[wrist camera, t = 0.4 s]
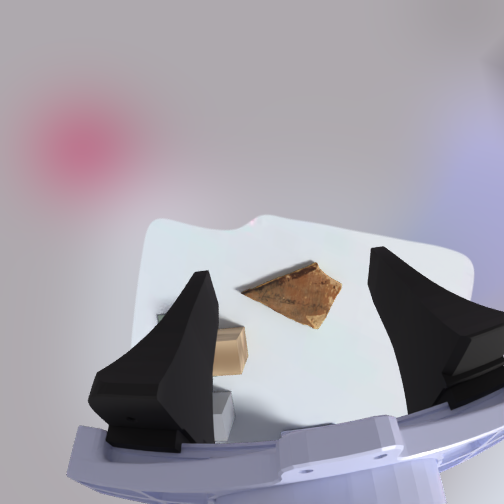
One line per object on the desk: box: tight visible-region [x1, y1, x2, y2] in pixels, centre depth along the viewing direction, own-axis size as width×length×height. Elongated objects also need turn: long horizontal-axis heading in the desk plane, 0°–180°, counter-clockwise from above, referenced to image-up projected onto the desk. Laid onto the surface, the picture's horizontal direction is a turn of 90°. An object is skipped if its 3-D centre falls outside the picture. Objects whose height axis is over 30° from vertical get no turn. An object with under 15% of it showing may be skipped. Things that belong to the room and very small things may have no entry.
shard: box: [241, 262, 342, 329], centre depth 38 cm, size 11×8×2 cm
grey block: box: [213, 391, 235, 441], centre depth 35 cm, size 4×4×7 cm
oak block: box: [213, 327, 248, 376], centre depth 36 cm, size 4×4×7 cm
